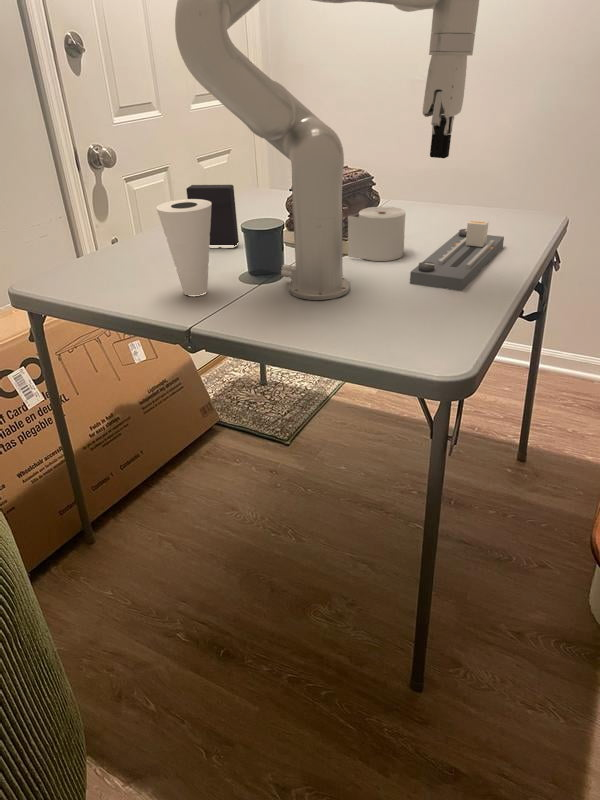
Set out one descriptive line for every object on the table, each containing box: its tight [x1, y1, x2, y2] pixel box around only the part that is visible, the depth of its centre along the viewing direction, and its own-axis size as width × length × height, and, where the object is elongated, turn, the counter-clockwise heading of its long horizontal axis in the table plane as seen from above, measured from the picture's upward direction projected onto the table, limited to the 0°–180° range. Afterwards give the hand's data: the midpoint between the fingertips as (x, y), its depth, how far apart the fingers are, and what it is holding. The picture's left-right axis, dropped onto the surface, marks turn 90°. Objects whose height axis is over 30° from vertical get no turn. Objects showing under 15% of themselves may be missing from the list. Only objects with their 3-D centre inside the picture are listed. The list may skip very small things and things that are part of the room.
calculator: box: [186, 184, 240, 246], centre depth 155 cm, size 11×4×15 cm, turn 80°
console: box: [409, 228, 505, 292], centre depth 138 cm, size 11×32×4 cm, turn 150°
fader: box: [466, 219, 489, 247], centre depth 140 cm, size 4×2×5 cm, turn 60°
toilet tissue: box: [347, 206, 406, 262], centre depth 144 cm, size 11×12×10 cm
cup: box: [156, 198, 212, 295], centre depth 125 cm, size 11×11×18 cm
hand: (439, 156), depth 118 cm, fingers closed
